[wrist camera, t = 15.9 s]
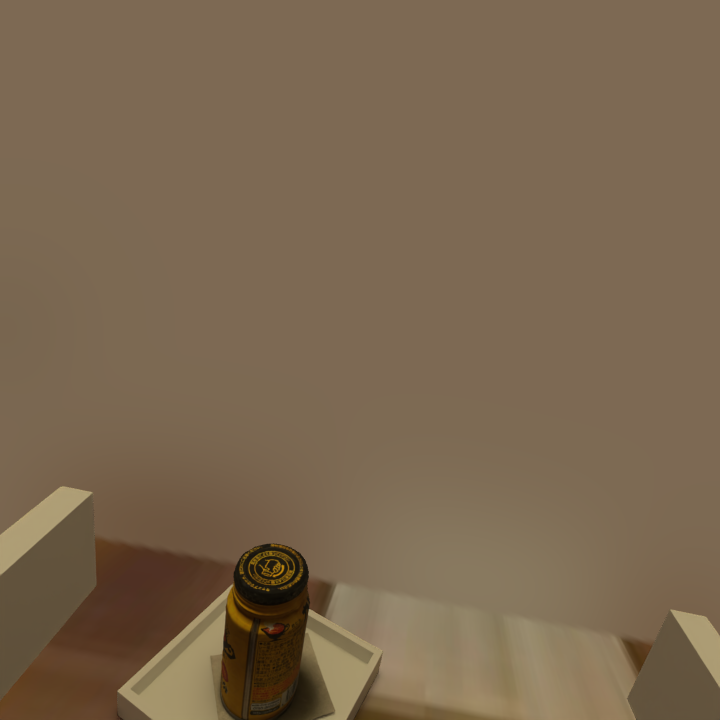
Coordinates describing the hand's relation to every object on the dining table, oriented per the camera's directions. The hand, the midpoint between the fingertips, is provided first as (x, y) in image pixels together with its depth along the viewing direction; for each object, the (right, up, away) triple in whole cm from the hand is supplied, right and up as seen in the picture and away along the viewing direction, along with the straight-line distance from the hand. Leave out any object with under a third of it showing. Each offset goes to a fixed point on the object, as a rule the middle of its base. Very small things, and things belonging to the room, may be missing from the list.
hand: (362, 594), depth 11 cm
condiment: (-7, -21, +27) cm, 35 cm away
